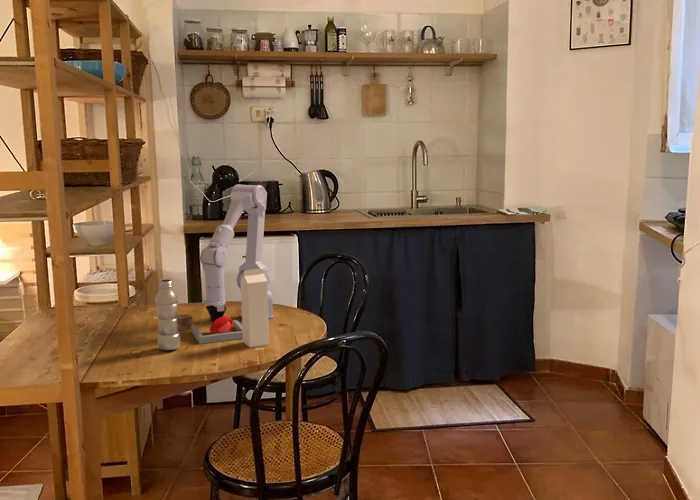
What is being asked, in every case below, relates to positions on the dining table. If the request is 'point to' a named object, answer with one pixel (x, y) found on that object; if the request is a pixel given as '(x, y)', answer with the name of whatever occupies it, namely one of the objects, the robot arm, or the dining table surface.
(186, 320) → the walnut block
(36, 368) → the dining table surface
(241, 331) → the tray frame
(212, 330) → the cap
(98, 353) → the dining table surface
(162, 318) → the plastic bottle
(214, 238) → the robot arm
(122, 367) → the dining table surface
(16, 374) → the dining table surface
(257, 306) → the milk
